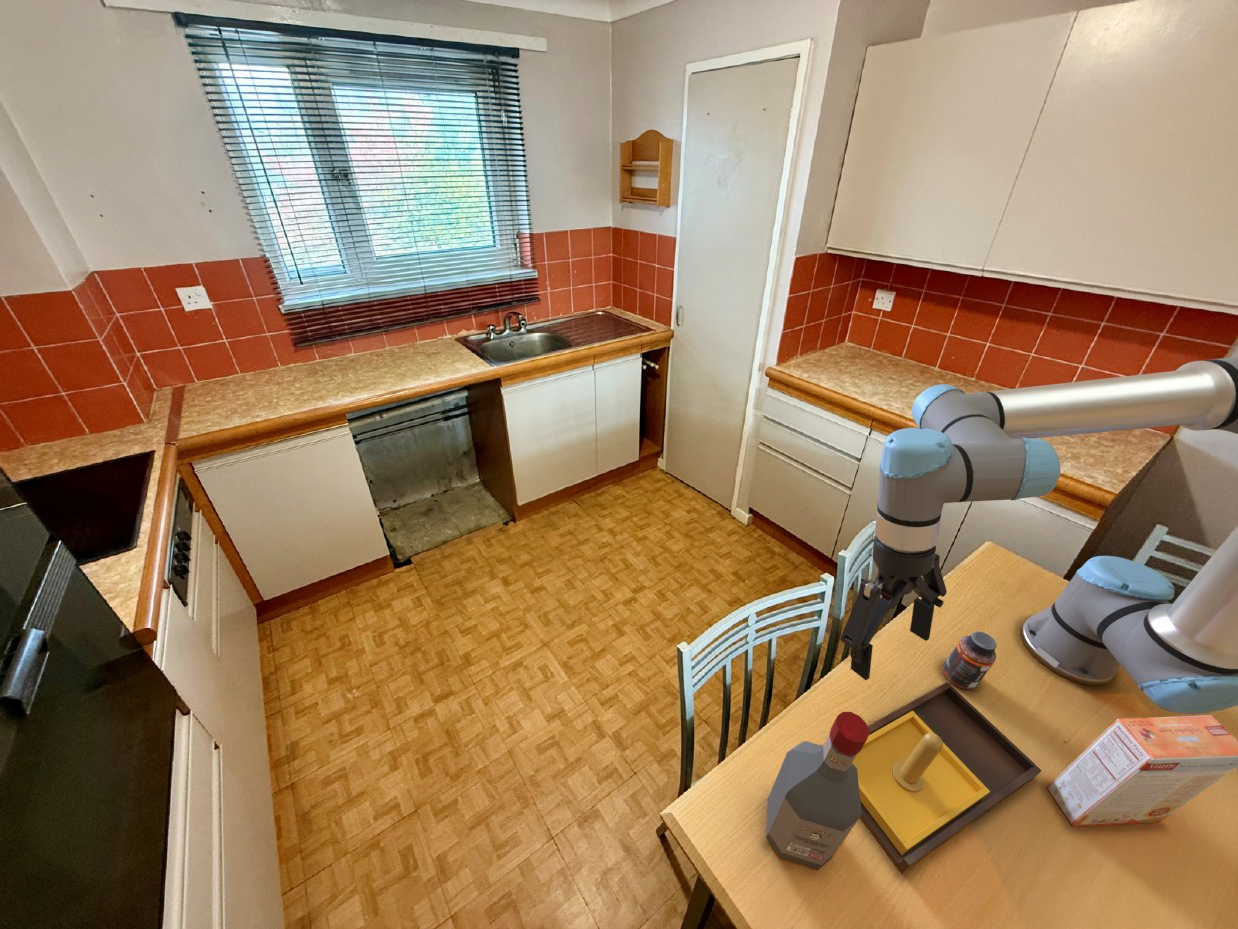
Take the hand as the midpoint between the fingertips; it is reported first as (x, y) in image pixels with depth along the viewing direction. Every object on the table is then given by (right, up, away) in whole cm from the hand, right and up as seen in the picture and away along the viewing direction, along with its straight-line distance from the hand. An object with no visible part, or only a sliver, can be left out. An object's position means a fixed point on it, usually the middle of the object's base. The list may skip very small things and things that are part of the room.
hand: (890, 653), depth 78 cm
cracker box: (+33, -24, +1) cm, 41 cm away
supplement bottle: (+23, -12, +19) cm, 32 cm away
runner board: (+8, -21, +5) cm, 23 cm away
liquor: (-15, -26, -2) cm, 30 cm away
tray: (+4, -21, +2) cm, 21 cm away
